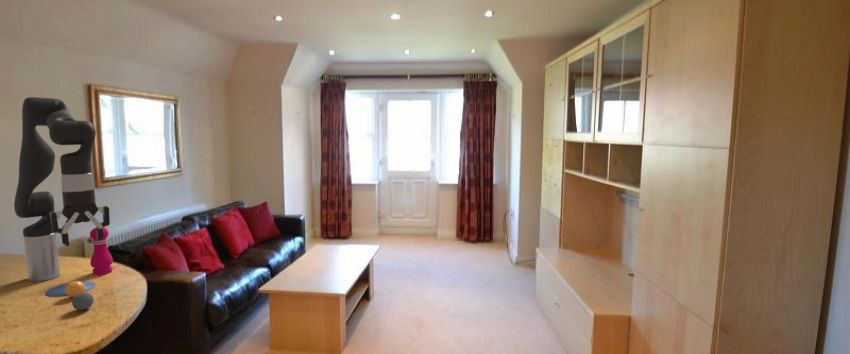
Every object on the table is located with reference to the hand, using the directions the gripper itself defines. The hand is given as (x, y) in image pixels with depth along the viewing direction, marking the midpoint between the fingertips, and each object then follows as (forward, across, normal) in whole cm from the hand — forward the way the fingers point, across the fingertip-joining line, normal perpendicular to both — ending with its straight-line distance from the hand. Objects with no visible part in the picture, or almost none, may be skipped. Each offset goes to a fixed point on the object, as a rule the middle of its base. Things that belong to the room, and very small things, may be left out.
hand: (83, 242), depth 131 cm
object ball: (+21, 0, -24) cm, 32 cm away
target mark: (+24, 0, -34) cm, 42 cm away
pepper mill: (+24, -12, -47) cm, 54 cm away
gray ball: (+21, 0, -10) cm, 24 cm away
